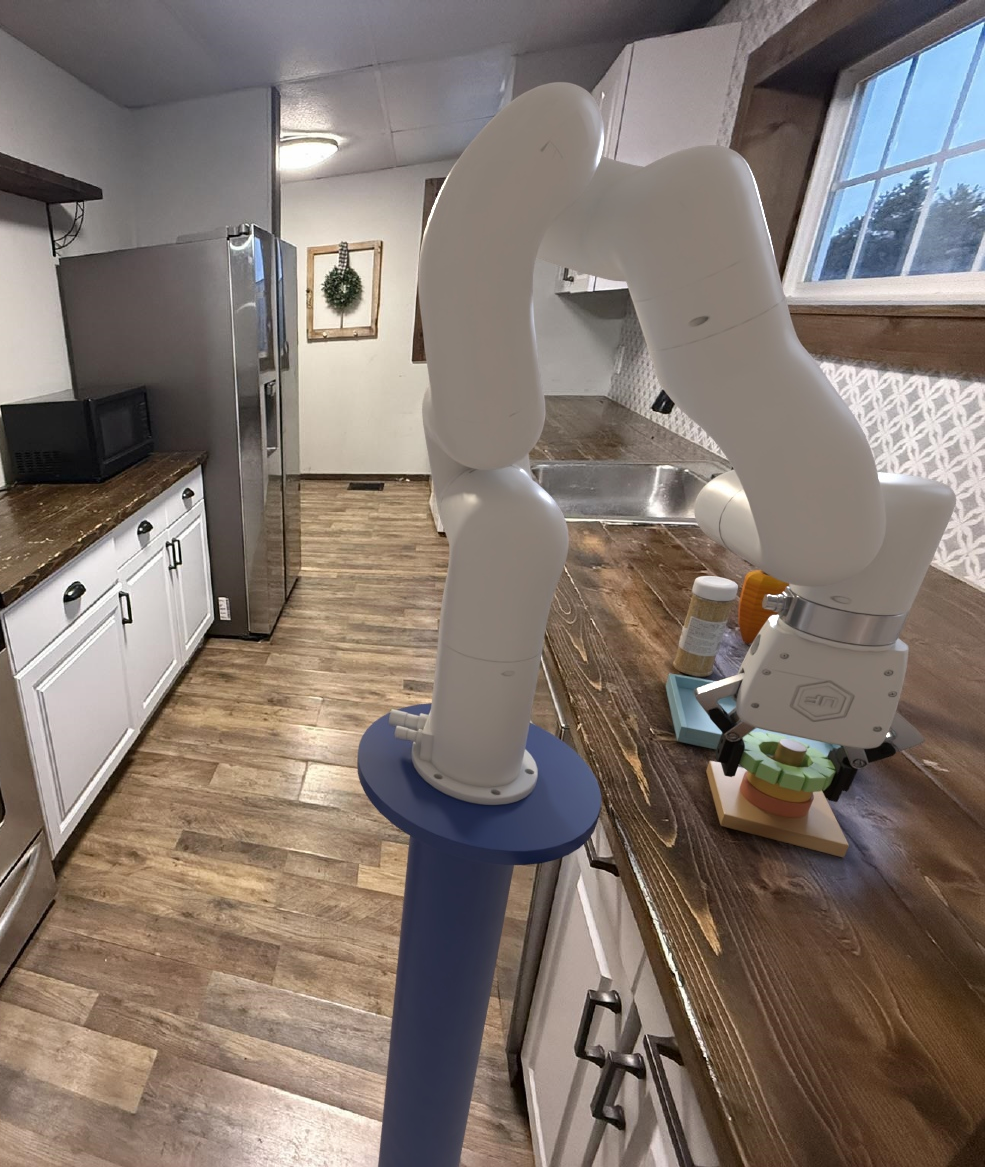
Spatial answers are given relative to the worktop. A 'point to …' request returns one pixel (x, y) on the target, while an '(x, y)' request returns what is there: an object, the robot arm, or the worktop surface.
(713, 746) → the tray
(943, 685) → the worktop surface
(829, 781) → the ring
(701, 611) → the sprinkles bottle
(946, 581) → the worktop surface
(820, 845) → the stand
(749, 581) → the carrot
